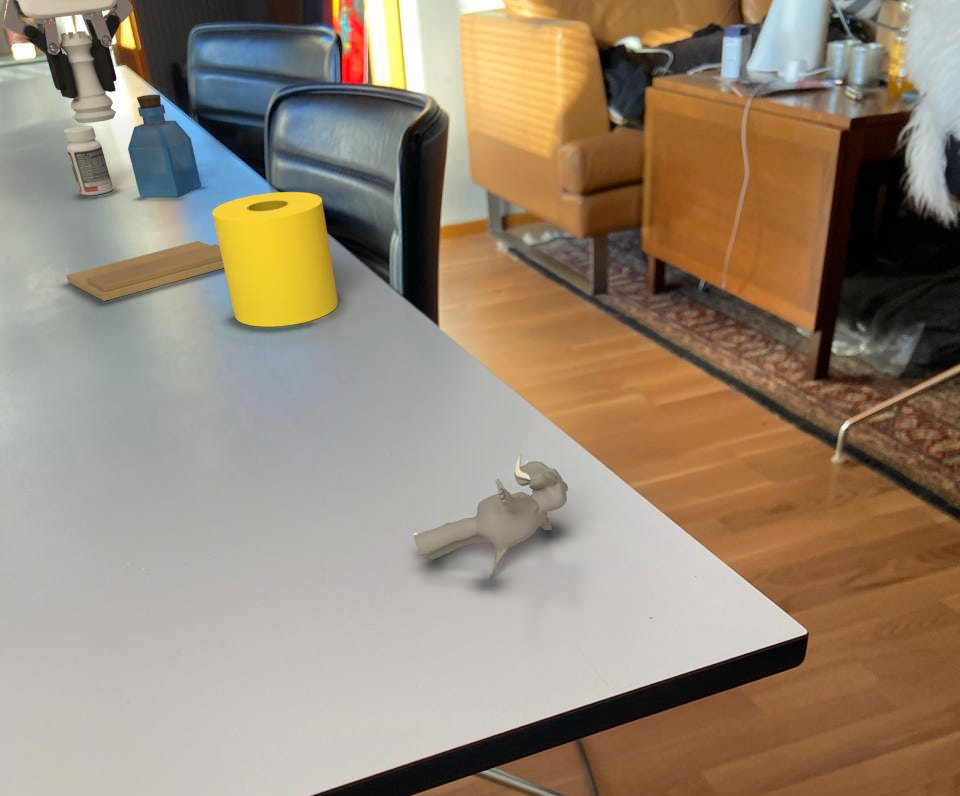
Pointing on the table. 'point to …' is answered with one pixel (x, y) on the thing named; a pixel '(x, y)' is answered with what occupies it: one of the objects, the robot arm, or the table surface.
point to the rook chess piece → (86, 80)
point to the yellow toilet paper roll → (276, 258)
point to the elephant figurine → (502, 515)
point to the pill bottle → (87, 161)
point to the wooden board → (148, 270)
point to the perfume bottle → (161, 153)
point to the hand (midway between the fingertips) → (88, 91)
